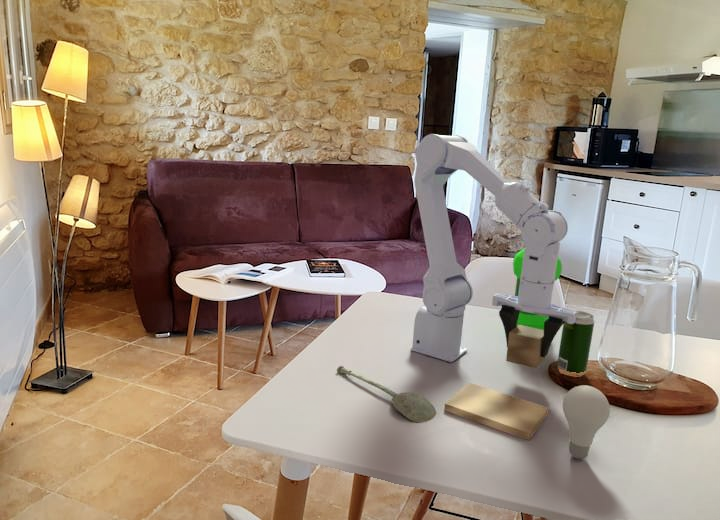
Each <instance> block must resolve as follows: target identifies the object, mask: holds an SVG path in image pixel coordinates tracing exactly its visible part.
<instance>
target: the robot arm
mask: <svg viewBox="0 0 720 520" xmlns="http://www.w3.org/2000/svg"><path fill="white" fill-rule="evenodd" d="M414 155H415V161H416V166H415V167H416V168H415V174H414V175H415V176H414V187H415V194H416V199H417V203H418V204H417V205H418V209H419V216H420V221H421V226H422V233H423V237H424V243H425V249H426V253H427V254H426V255H427V260H428V264H429V265H428V266H429V267H428V268H427V271H426V273H425V274H424V276H423V277H422V281H423V291H422V302H423V305H422V306H421V307H419V309H418V310H417V311H416V314H415V317H414V323H413V324H414V325H413V334H412V335H413V336H412V346H411V347H410V351H413V352H416V353H419V354H423V355H426V356H429V357H432V358H435V359H438V360H443V361H446V362H449V363H453V362H454V361H456V360H457V359H458V358H459V357H461V356H462V355H463V354H465V353H467V351H468V348H466V347H462V346H461V343H462V335H463V325H464V317H465V310H466V307H467V305H468V304H469V303H470V302H471V301H472V298H473V295H474V290H473V286H472V284H471V282H470V281H469V280H468V277H467V275H466V270H465V269H464V268H463V267H462V266H461V265H460V264H459V263H458V261H457V257H456V250H455V247H454V246H455V245H454V240H453V235H452V229H451V228H452V227H451V223H450V217H449V213H448V207H447V201H446V196H445V191H444V185H445V184H446V182H447V181H448V180H449V178H450V177H451V176H452V175H453V174H455V173H456V172H457V171H458V170H459V171H465V172H466V173H467V174H468V175H469V176H470V177H472V179H474V180H475V181H476V182H478V183H479V184H480V185H481V186H482V187H483V188H485V189H486V190H487V191H489V192H490V194H492V195H493V196H494V204H495V207H496V208H497V209H499V211H500V212H502V213H503V214H504V215H505V216H506V217H507V219H509V220H510V221H511V222H512V223H513V224H514V225H515V226H516V227H517V228H518V229H520V235H521V239H523V243H524V248H525V250H524V257H523V264H522V271H521V278H520V285H519V293H518V296H515V295H511V294H503V293H497V292H496V293H495V294H494V295H492V301H491V302H492V303H491V305H492V306H495V307H499V306H500V307H501V308H500V310H499V311H498V315H499V317H500V321H501V322H502V325H503V329H504V332H505V333H504V334H505V339H506V340H505V341H506V348H508V338H509V332H510V331H512V330H513V329H514V328H515V327H516V326H517V321H518V317H519V313H520V311H524V312H528V313H532V314H536V315H540V316H545V317H549V319H547V320H546V321H545V322H544V336H543V343H542V348H541V354H540V357H545V358H546V356H548V353H549V349H550V347H551V344H552V343H553V340H554V339H555V337H556V335H557V334H558V332H559V330H560V329H562V327H563V323H564V322H567V323H569V324H573V323H574V322H575V320H576V314H577V311H578V310H576V311H574V310H575V309H574V310H573V309H569V308H566V307H564V306H561V305H559V304H558V305H557V304H555V303H552V298H553V291H554V285H555V281H554V280H555V273H556V267H557V260H558V258H559V252H560V245H561V241H562V240H564V239H565V237H566V235H567V234H568V227H569V226H568V222H567V220H566V218H565V216H563V214H562V213H561V212H560V211H558V210H553V209H551V210H549V205H548V204H547V203H546V202H541V201H540V200H539V199H538V198H537V197H536V196H534V195H533V194H532V193H531V192H530V191H529V190H530V186H528V185H527V183H520V182H518V181H515V182H514V181H513V182H509V181H508V180H507V179H505V177H504V176H503V175H502V174H501V173H500V172H499V171H498V170H497V169H496V168H495V167H494V166H493V165H492V164H491V163H490V162H489V161H488V160H487V159H486V158H485V157H484V156H483V155H482V154H481V153H480V152H479V150H478V149H477V147H476V146H475V144H473V143H472V142H469V141H468V139H467V138H466V137H464V136H462V135H458V134H456V135H441V134H435V133H429V134H427V135H425V136H424V137H423V138H422V139H421V141H420V142H419V143H418V145H417V147H416V148H415V149H414Z"/></svg>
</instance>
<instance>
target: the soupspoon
mask: <svg viewBox="0 0 720 520" xmlns="http://www.w3.org/2000/svg"><path fill="white" fill-rule="evenodd" d="M336 373H337V374H342V375H348V376H349V377H350V376H351V377H354V378H356V379H359V380H361V381H363V382H365V383H367V384H368V385H370V386H373V387H375V388H377V389H379V390H381V391H383V392H384V393H386V394H387V395H389V396H391V397H392V398H391V402H392V404H393V406H394V408H395V409H396V410H398V412H399V413H401V414H402V416H404V417H405V418H407V419H408V420H410V421H412V422H415V423H416V424H417V423H422V424H423V423H427V422H429V421H432V420H433V419H434V418H435V417H436V415H437V411H436V409H435V406H434V405H433V404H432V402H430V401H429V400H428V399H427V398H425V396H422V395H420V394H418V393H414V392H399V393H397V392H396V391H393V390H391V389H390V388H388V387H386V386H385V385H382V384H379V383H378V382H375V381H373V380H370V379H368V378H366V377H364V376H361V375H360V374H356V373H355V372H353V371H351V370H348V369H347V368H345V367H344V365H340V366H338V367H337V369H336Z"/></svg>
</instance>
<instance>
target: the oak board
mask: <svg viewBox="0 0 720 520" xmlns="http://www.w3.org/2000/svg"><path fill="white" fill-rule="evenodd" d="M443 411H445V412H448V413H450V414H454V415H456V416H460V417H462V418H465V419H468V420H471V421H473V422H475V423H479V424H482V425H484V426H487V427H490V428H493V429H494V430H495V429H496V430H498V431H501V432H503V433H506V434H507V433H508V434H509V435H513V436H515V437H519V438H521V439H524V440H526V441H530V440H531V438H532V437H533V436H534V434H535V433H536V431H537V430H538V428H539V427H540V426H541V424H542V423H543V421H544V420H545V419H546V417H547V415H548V413H549V407H548V406H544V405H541V404H539V403H535V402H532V401H528V400H526V399H522V398H520V397H516V396H513V395H509V394H507V393H504V392H500V391H497V390H494V389H491V388H488V387H485V386H481V385H479V384H476V383H472V382H468V383H466V385H465V386H463V387H462V388H461V389H460V390H459V391H457V393H456V394H455V395H453V396H452V397H450V399H449V400H448V401H446V402H445V403H444V410H443Z"/></svg>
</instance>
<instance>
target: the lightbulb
mask: <svg viewBox="0 0 720 520" xmlns="http://www.w3.org/2000/svg"><path fill="white" fill-rule="evenodd" d="M610 408H611V407H610V403H609V401H608V398H607V397H606V395H605V394H604V393H603V392H602V391H600V390H599V389H598V388H595V387H594V386H591V385H584V384H583V385H578V386H574V387H573V388H570V390H568V391H567V392H566V394H565V395H564V397H563V401H562V410H563V414H564V417H565V419H566V422H567V425H568V439H569V444H568V452H569V454H570V455H571V456H572V457H573V458H575V459H577V460H581V459H586V458H587V457H588V454H589V451H590V447H591V446H592V444H593V442H594V438H595V435H596V434H597V433H598V431H599V430H600V429H601V428H602V427H603V426H604V425H605V424H606V423H607V421H608V419H609V417H610V413H611V410H610Z"/></svg>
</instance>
